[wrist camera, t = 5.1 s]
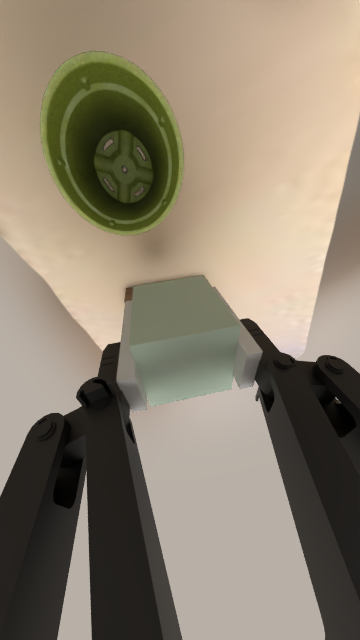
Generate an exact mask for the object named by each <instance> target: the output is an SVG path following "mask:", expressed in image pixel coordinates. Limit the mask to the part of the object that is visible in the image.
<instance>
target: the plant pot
mask: <svg viewBox="0 0 360 640" xmlns="http://www.w3.org/2000/svg"><path fill="white" fill-rule="evenodd" d="M40 135H41V143H42V148H43V152H44V156H45V159H46V163H47V165H48V168H49V171H50V173H51V175H52V178H53V180H54V182H55V184H56V185H57V187H58V189H59V191H60V192H61V194H62V195H63V197H64V198H65V199H66V201H67V202H68V203H69V204H70V205H71V206H72V207H73V209H74V210H75V211H76V212H77V213H78V214H79V215H80V216H82V217H83V218H84V219H85V220H87V221H88V222H89V223H91V224H92V225H94V226H96V227H97V228H99V229H101V230H104V231H106V232H109V233H113V234H117V235H125V236H130V235H138V234H141V233H145V232H147V231H149V230H151V229H153V228H154V227H156V226H157V225H158V224H159V223H161V222H162V221H163V220H164V219H165V218H166V216H167V215H168V214H169V212H170V211H171V209H172V208H173V206H174V204H175V202H176V200H177V197H178V195H179V192H180V188H181V184H182V179H183V171H184V153H183V145H182V139H181V135H180V131H179V127H178V124H177V121H176V119H175V117H174V114H173V112H172V110H171V108H170V106H169V104H168V101H167V100H166V98H165V96H164V95H163V93H162V92H161V90H160V89H159V88H158V86H157V85H156V84H155V83H154V82H153V81H152V79H151V78H150V77H149V76H148V75H147V74H146V73H145V72H144V71H143V70H141V69H140V68H139V67H138V66H136V65H134V64H133V63H132V62H130V61H128V60H126V59H124V58H122V57H120V56H117V55H114V54H111V53H107V52H102V51H90V52H85V53H81V54H78V55H76V56H74V57H72V58H71V59H69V60H67V61H66V62H64V63H63V64H62V65H61V66H60V67H59V68H58V69H57V71H56V72H55V74H54V75H53V77H52V78H51V80H50V82H49V84H48V86H47V88H46V91H45V93H44V97H43V102H42V107H41V115H40ZM109 139H113V140H114V143H113V144H111V145H110V146H108V147H107V149H105V151H104V150H103V147H104V145H105V143H106V142H107V141H108V140H109ZM136 147H140V148H141V150H142V151H143V153H144V154H145V157H146V161H144V160H143V158H142V156H141V154H140V153H139V151H138V150H137V148H136ZM123 166H124V167H126V168H127V172H126V173H124V172H123V170H122V167H123ZM104 178H106V179H107V181H108V182H109V184H110V185H111V186H112V188H113V189H114V191H111V190H110V188H109V187H108V186H107V185H106V184H105V182H104ZM142 187H144V191H143V193H141V194H140V195H139V196H134V194H135V193H136V192H138V191H139V190H140V189H141V188H142Z"/></svg>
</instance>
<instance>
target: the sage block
mask: <svg viewBox="0 0 360 640" xmlns="http://www.w3.org/2000/svg"><path fill="white" fill-rule="evenodd" d="M240 326H241V325H240V324H239V323H238V321H237V320H236V319H235V317H234V316H233V315H232V313H231V312H230V310H229V309H228V308H227V306H226V305H225V304H224V302H223V301H222V300H221V298H220V297H219V295H218V294H217V293H216V291H215V290H214V289H213V287H212V286H211V285H210V283H209V282H208V280H207V279H206V278H205V276H204V275H201V276H194V277H188V278H181V279H175V280H169V281H162V282H156V283H150V284H143V285H137V286H133V296H132V310H131V324H130V338H129V348H130V351H131V353H132V356H133V359H134V361H135V363H136V365H137V368H138V371H139V374H140V377H141V380H142V382H143V385H144V388H145V391H146V395H147V398H148V401H149V404H150V406H156V405H161V404H165V403H170V402H174V401H179V400H183V399H188V398H192V397H197V396H202V395H206V394H211V393H215V392H220V391H225V390H229V389H232V382H233V372H234V365H235V358H236V351H237V344H238V340H239V333H240Z"/></svg>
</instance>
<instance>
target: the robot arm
mask: <svg viewBox="0 0 360 640" xmlns="http://www.w3.org/2000/svg"><path fill="white" fill-rule="evenodd" d="M213 289H214V290H215V291H216V293H217V294H218V295H219V297H220V298H221V300H222V301H223V302H224V304H225V305H226V306H227V308H228V309H229V310H230V312H231V313H232V315H233V316H234V317H235V319H236V320H237V321H238V323H239V324H240V325H241V326H240V333H239V340H238V344H237V351H236V358H235V365H234V372H233V376H234V378H235V380H236V382H237V384H238V386H239V388H240V389H242V388H246V387H251V386H253V385H254V381H256V382H257V384H258V386H259V388H258V391H257V394H256V401H258V399H259V398H260V401H261V405H262V409H263V412H264V416H265V419H266V423H267V426H268V430H269V433H270V437H271V440H272V444H273V447H274V451H275V454H276V458H277V462H278V465H279V469H280V472H281V476H282V479H283V483H284V486H285V490H286V493H287V497H288V500H289V504H290V507H291V511H292V515H293V518H294V521H295V525H296V529H297V532H298V536H299V539H300V543H301V546H302V550H303V553H304V557H305V560H306V564H307V567H308V571H309V574H310V578H311V581H312V585H313V589H314V592H315V596H316V599H317V602H318V606H319V609H320V613H321V617H322V620H323V625H324V629H325V640H360V374H359V373H358V372H357V371H356V370H355V369H354V368H352V367H351V366H350V365H349V364H348V363H346V362H345V361H343V360H342V359H340V358H337V357H335V356H330V355H323V356H320V357H319V358H318V359H317V361H316V362H307V361H297V360H295V359H294V358H293V357H291V356H290V355H288V354H285V353H281V352H280V351H279V350H278V349H277V348H276V347H275V345H274V344H273V343H272V342H271V341H270V339H269V338H268V337H267V336H266V335H265V334H264V332H263V331H262V330H261V329H260V328H259V326H258V325H257V324H256V323H255V322H254V321H252V320H250V319H249V318H246V319H241V320H239V319H238V317H237V316H236V314H235V313H234V312H233V310H232V309H231V308H230V306H229V305H228V304H227V302H226V301H225V300H224V298H223V297H222V296H221V294H220V293H219V291H218V290H217V289H216V287H213ZM131 310H132V300H131V301H125V309H124V318H123V327H122V335H121V342H119V343H113V344H108V345H107V347H106V348H105V349H104V351H103V354H102V360H101V363H100V368H99V373H98V377H95V378H92V379H90V380H88V381H86V382H85V383H84V384H83V385H82V386H81V387H80V389H79V390H78V392H77V396H76V398H77V400H78V401H79V402H80V403H81V405H82V407H80V408H78V409H76V410H74V411H72V412H70V413H69V414H66V415H64V416H63V415H61V414H59V413H51V414H49V415H46V416H44V417H43V418H41V419H40V420H38V421H37V422H36V423H35V424H34V425H33V426H32V428H31V430H30V431H29V433H28V434H27V437H26V439H25V441H24V444H23V446H22V448H21V450H20V453H19V455H18V458H17V460H16V462H15V464H14V467H13V469H12V471H11V474H10V476H9V478H8V480H7V483H6V485H5V487H4V490H3V492H2V494H1V496H0V640H57V636H58V631H59V624H60V619H61V613H62V608H63V607H62V606H63V601H64V596H65V590H66V585H67V579H68V573H69V567H70V561H71V556H72V550H73V544H74V538H75V532H76V527H77V521H78V516H79V510H80V504H81V498H82V493H83V487H84V481H85V475H86V470H87V496H88V497H87V499H88V527H89V528H88V529H89V530H88V531H89V561H90V593H91V624H92V640H182V636H181V632H180V627H179V623H178V619H177V614H176V610H175V606H174V602H173V597H172V593H171V589H170V585H169V580H168V576H167V572H166V568H165V563H164V559H163V555H162V550H161V546H160V542H159V538H158V534H157V529H156V525H155V520H154V516H153V512H152V508H151V504H150V499H149V495H148V490H147V486H146V482H145V477H144V473H143V469H142V465H141V461H140V456H139V452H138V448H137V443H136V439H135V435H134V430H133V426H132V422H131V420H130V418H129V414H130V413H129V412H130V409H131V411H132V412H137V411H142V410H146V409H147V395H146V391H145V388H144V385H143V382H142V380H141V377H140V374H139V371H138V368H137V365H136V363H135V361H134V359H133V356H132V353H131V351H130V348H129V338H130V324H131ZM335 397H336V398H337V399H338V400H339V401H340V402H339V401H338V400H336V398H335Z"/></svg>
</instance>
